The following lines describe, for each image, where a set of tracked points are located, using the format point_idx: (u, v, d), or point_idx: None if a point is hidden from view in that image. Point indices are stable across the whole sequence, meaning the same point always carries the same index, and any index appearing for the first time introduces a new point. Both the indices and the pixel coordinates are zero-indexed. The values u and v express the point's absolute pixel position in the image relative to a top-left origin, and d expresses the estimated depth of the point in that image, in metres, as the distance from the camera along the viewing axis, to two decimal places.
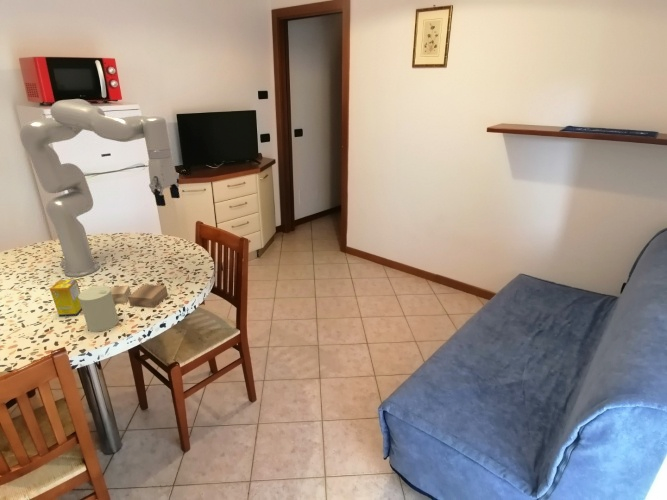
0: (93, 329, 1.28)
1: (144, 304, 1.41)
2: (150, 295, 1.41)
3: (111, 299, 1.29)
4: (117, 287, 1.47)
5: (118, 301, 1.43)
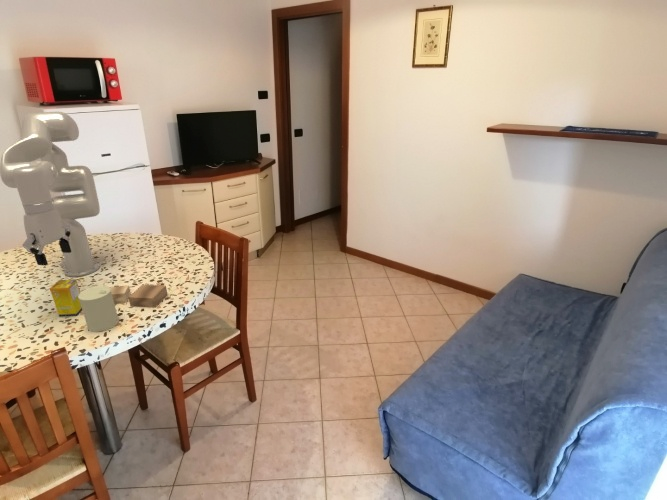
0: (93, 329, 1.28)
1: (145, 304, 1.41)
2: (151, 295, 1.41)
3: (111, 299, 1.29)
4: (117, 287, 1.47)
5: (118, 301, 1.43)
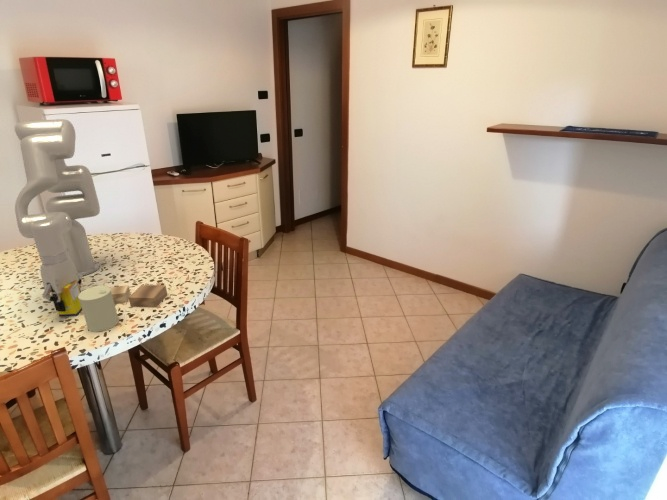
0: (93, 329, 1.28)
1: (145, 304, 1.41)
2: (152, 295, 1.41)
3: (111, 299, 1.29)
4: (116, 287, 1.47)
5: (119, 301, 1.43)
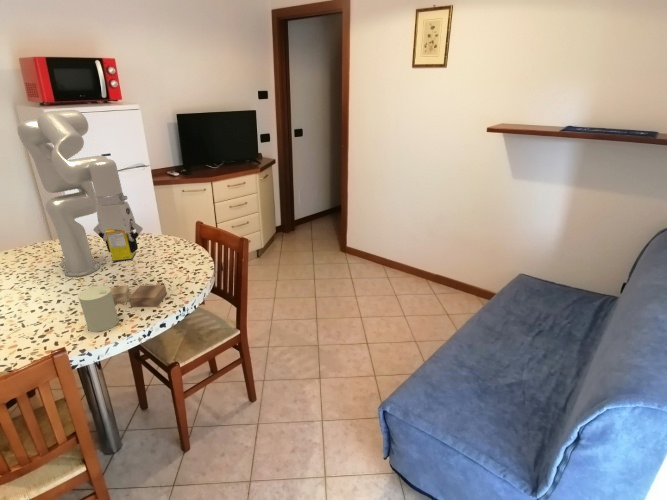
0: (93, 329, 1.28)
1: (146, 303, 1.41)
2: (152, 295, 1.41)
3: (111, 299, 1.29)
4: (116, 287, 1.46)
5: (119, 301, 1.44)
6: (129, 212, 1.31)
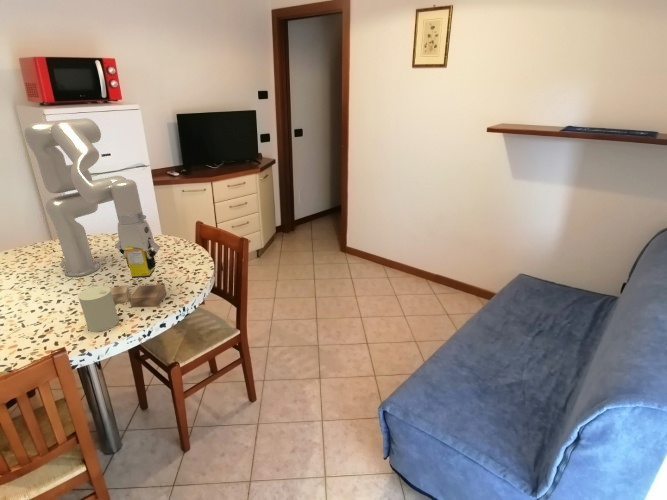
0: (93, 329, 1.28)
1: (147, 303, 1.41)
2: (153, 294, 1.42)
3: (111, 299, 1.29)
4: (116, 287, 1.46)
5: (120, 301, 1.44)
6: (148, 231, 1.35)
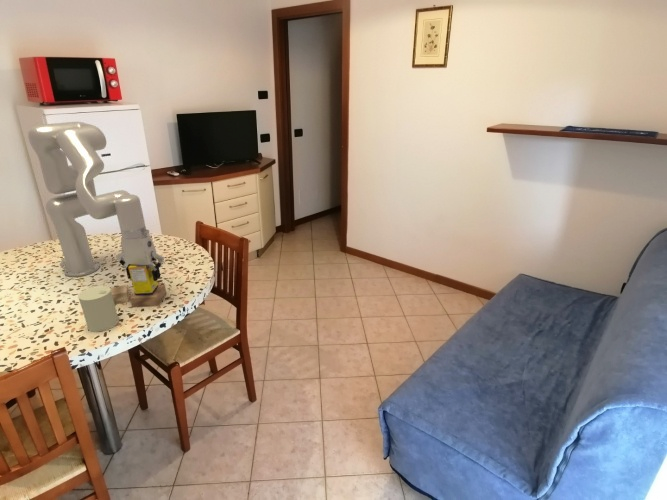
0: (93, 329, 1.28)
1: (148, 303, 1.41)
2: (154, 294, 1.42)
3: (111, 299, 1.29)
4: (116, 287, 1.46)
5: (120, 301, 1.44)
6: (151, 245, 1.37)
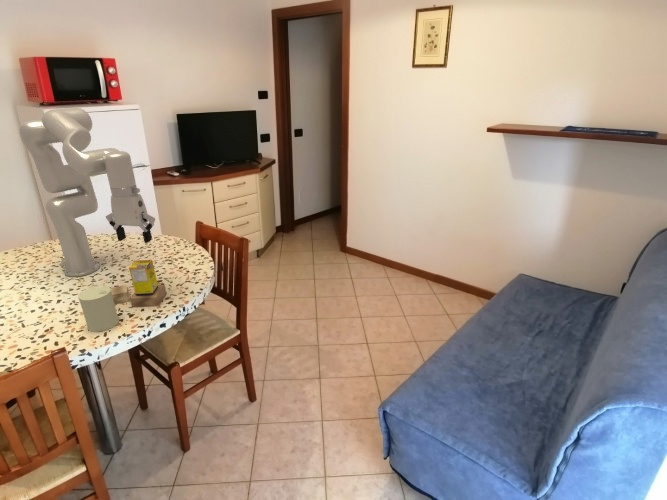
0: (93, 329, 1.28)
1: (148, 303, 1.41)
2: (154, 295, 1.42)
3: (111, 299, 1.29)
4: (116, 287, 1.46)
5: (120, 301, 1.44)
6: (141, 205, 1.32)
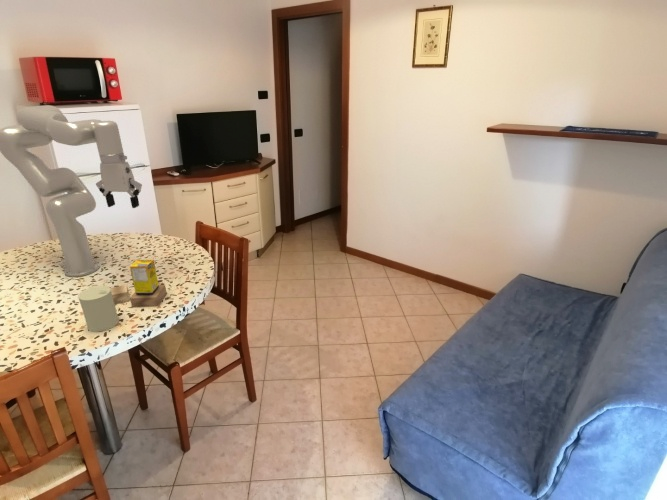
0: (93, 329, 1.28)
1: (147, 303, 1.41)
2: (154, 294, 1.42)
3: (111, 299, 1.29)
4: (115, 287, 1.46)
5: (120, 300, 1.44)
6: (129, 171, 1.42)
